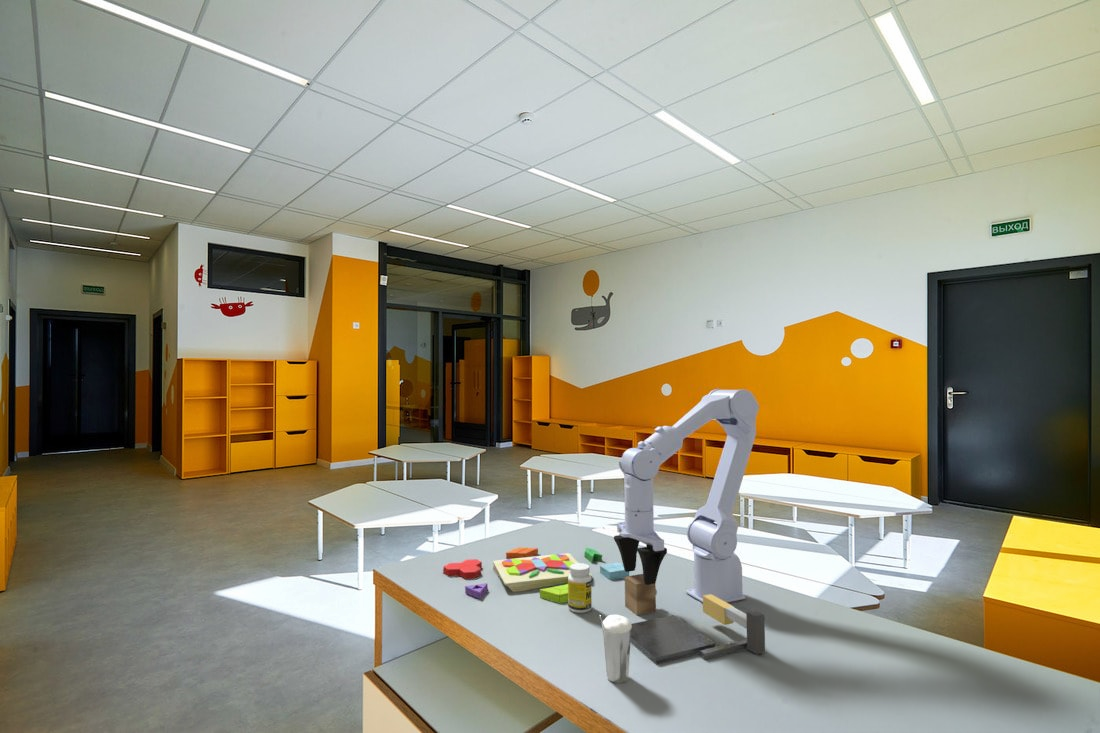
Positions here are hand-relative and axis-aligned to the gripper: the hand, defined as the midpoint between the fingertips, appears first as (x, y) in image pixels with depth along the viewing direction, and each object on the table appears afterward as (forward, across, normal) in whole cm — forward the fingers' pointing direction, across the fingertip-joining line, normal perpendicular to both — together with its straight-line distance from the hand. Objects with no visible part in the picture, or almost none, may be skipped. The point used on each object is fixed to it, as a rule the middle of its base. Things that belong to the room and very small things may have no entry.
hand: (639, 577), depth 108 cm
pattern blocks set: (+7, -26, -12) cm, 29 cm away
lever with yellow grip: (+6, +17, +9) cm, 20 cm away
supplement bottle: (+7, -5, -11) cm, 14 cm away
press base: (+6, +14, +1) cm, 15 cm away
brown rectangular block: (+6, 0, 0) cm, 6 cm away
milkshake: (+7, +20, -17) cm, 27 cm away
